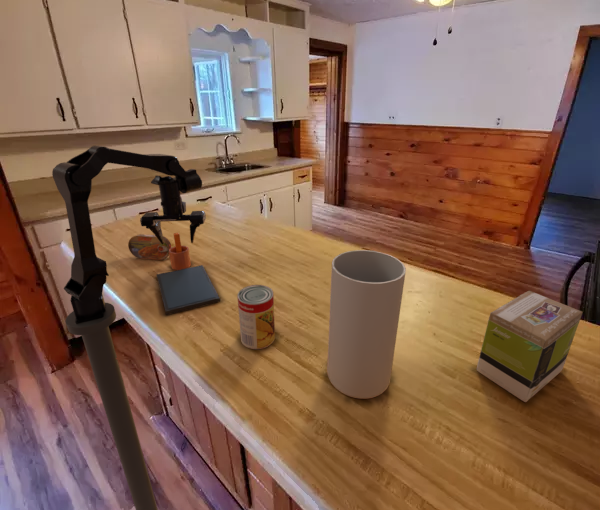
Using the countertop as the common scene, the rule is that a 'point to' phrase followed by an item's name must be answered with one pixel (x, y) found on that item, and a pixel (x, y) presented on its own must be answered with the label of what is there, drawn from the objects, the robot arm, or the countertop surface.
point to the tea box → (527, 343)
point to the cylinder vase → (363, 321)
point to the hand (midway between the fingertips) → (177, 243)
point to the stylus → (177, 242)
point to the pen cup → (180, 258)
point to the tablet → (186, 289)
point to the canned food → (256, 316)
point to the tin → (149, 247)
